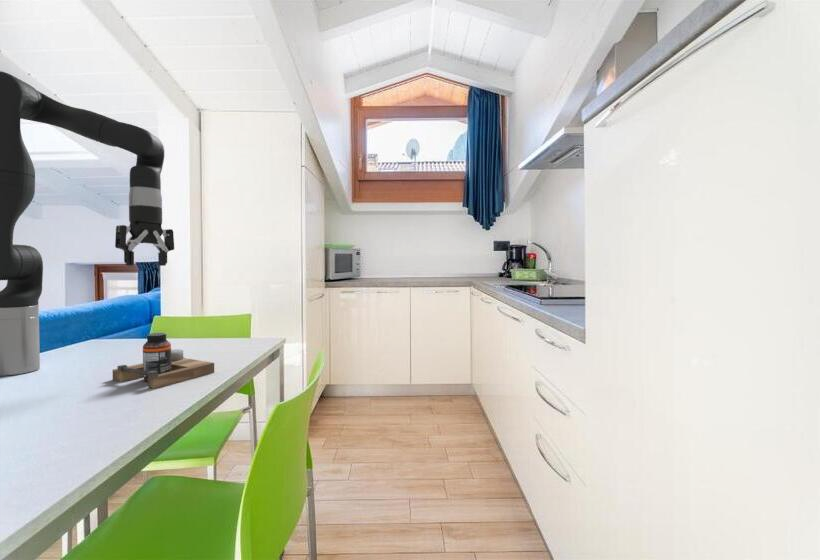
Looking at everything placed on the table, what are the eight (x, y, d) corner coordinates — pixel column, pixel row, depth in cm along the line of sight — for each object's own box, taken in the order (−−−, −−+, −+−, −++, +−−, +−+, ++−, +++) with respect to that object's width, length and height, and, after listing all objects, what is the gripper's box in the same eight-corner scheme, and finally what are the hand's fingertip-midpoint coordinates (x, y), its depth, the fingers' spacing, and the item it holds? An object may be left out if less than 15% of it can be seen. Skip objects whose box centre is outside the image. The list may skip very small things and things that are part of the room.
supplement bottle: (155, 375, 102) (154, 331, 102) (177, 376, 102) (176, 332, 101) (137, 381, 96) (136, 335, 96) (160, 382, 96) (159, 336, 95)
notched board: (112, 379, 98) (111, 364, 98) (174, 365, 112) (174, 352, 112) (153, 388, 91) (152, 372, 91) (214, 372, 106) (214, 358, 105)
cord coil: (171, 362, 106) (171, 355, 105) (157, 360, 107) (157, 353, 107) (187, 357, 110) (187, 350, 110) (173, 355, 112) (173, 348, 112)
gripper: (162, 210, 116) (163, 265, 117) (108, 202, 103) (109, 265, 104) (179, 208, 113) (180, 265, 113) (126, 201, 100) (127, 265, 100)
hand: (146, 265), depth 109 cm, fingers open, 8 cm apart
